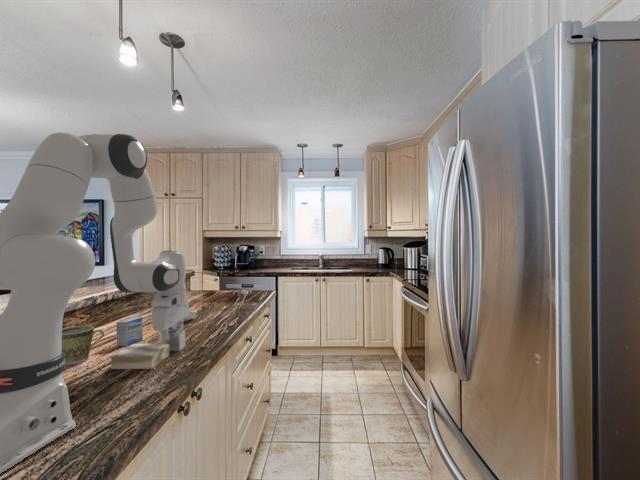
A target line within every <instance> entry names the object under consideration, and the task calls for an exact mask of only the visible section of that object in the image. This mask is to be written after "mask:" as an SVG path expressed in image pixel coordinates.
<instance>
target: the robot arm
mask: <svg viewBox="0 0 640 480" xmlns="http://www.w3.org/2000/svg"><path fill="white" fill-rule="evenodd" d="M147 164H148V155H147V151H146V149H145V147H144V145H143V143H142V142H141V141H140V140H139V139H138V138H137V137H135V136H133V135H130V134H125V133H116V134H105V133H102V134H99V133H98V134H97V133H95V134H93V133H92V134H85V135H80V136H77V135H74V134H70V133H68V132H67V133H66V132H55V133H51V134H49V135H47V136H46V137H45V138H44V140H42V142H41V143H40V144H39V145H38V147H37V148H36V149H35V151H34V153H33V155H32V156H31V158H30V160H29V162H28V164H27V166H26V168H25V170H24V173H23V174H22V176H21V179H20V180H19V183H18V185H17V186H16V189H15V191H14V193H13V195H12V197H11V198H10V200H9V201H8V203H7V204H6V206H5V207H4V208H2V211H0V290H1V291H4V290H5V291H10V297H9V299H8V301H7V302H8V303H7V305H6V307H5V309H4V310H3V312H2V313H1V314H0V474H1V473H2V472H4V471H6V470H7V469H9V468H11V467H12V466H14V465H15V464H17V463H18V462H20V461H21V460H23V459H24V458H26V457H28V456H29V455H30V454H32V453H34V452H35V451H37V450H38V449H40V448H41V447H43V446H45V445H46V444H48V443H50V442H51V441H53V440H54V439H56V438H57V437H59V436H61V435H63V434H65V433H67V432H68V431H70V430H72V429H74V428H75V427H76V428H77V426H76V421H75V420H74V419H73V416H72V413H71V406H70V404H71V403H70V396H69V391H68V386H67V384H66V382H65V379H64V375H63V374H64V373H63V372H64V370H65V368H66V366H65V359H64V352H62V329H63V322H64V320H63V319H64V315H65V310H66V308H67V306H68V303H69V301H70V300H71V297H72V296H73V294H74V293H75V291H77V289H78V288H79V287H80V286H82V285H83V284H84V283H86V282H88V280H89V279H90V277H92V275H93V272H94V270H95V266H96V256H95V253H94V251H93V249H92V247H91V245H89V244H88V242H86V241H85V240H83V239H79V238H75V237H71V236H65V235H60V234H57V233H58V232H59V231H60V230H61V229H63V228H65V227H67V226H68V225H71V223H73V222H74V221H75V220H77V218H78V217H79V215H80V212H81V209H82V206H83V203H84V201H85V197H86V194H87V192H88V190H89V189H88V188H89V186H90V183H91V178H93V179H97V178H98V179H107V181H108V183H109V188H110V194H111V198H112V201H113V208H114V215H113V217H112V218H111V219H110V223H109V235H110V244H111V249H112V250H111V252H112V259H113V283H114V285H115V286H116V288H117V289H118V290H119V291H120V292H121V293H124V294H130V293H156V295H155V296H154V298H152V300H151V302H150V307H151V308H152V310H151V323H152V328H153V330H154V331H156V332H158V331H159V332H160V333H161V334H162V336H163V341H168V340H170V335H169V334H168V331H169V330H170V328H172V326H173V325H174V324H176V323H177V326H176V328H175V330H183V329H182V325H183V326H184V322H185V321H184V318H186V317H188V315H189V311H190V309H189V307H190V306H189V299H188V298H187V287H186V286H187V285H186V281H185V279H186V276H187V274H186V271H187V270H186V268H187V267H186V259H185V256H184V254H183V253H182V252H180V251H176V250H175V251H174V250H163V251H160V252H159V257H157V258H156V259H154V260H152V261H150V262H149V261H147V262H142V261H141V262H140V261H139V260H138V261H137V260H136V258H135V254H134V243H133V236H134V234H135V232H136V231H137V230H138V229H141V228H143V227H145V226H147V225H149V224H150V223H152V222H153V220H154V219H155V217H156V216H157V214H158V203H157V198H156V194H155V190H154V187H153V183H152V180H151V178H150V176H149V173H148V171H147V169H146V167H147ZM76 428H75V429H76ZM75 429H74V430H75ZM72 431H73V430H72ZM67 434H68V433H67ZM28 458H29V457H28ZM20 463H21V462H20ZM17 465H18V464H17ZM15 466H16V465H15ZM15 466H14V467H15ZM12 468H13V467H12ZM12 468H11V469H12ZM9 470H10V469H9ZM7 471H8V470H7ZM7 471H6V472H7ZM4 473H5V472H4ZM2 474H3V473H2ZM2 474H1V475H2Z"/></svg>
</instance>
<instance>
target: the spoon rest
mask: <svg viewBox="0 0 640 480" xmlns="http://www.w3.org/2000/svg"><path fill="white" fill-rule="evenodd" d="M197 312H198V311H197V310H189V315H188V317H186V318H184V322H188V320H189V321H190V320H191V319H193V318H194V317H195V316H196V315H197ZM176 326H177V323H176V324H174V325H173V326H171V330H175V328H176ZM184 327H185V326H184V324H183V325H182V330H184V329H185V328H184Z"/></svg>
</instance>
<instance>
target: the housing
mask: <svg viewBox="0 0 640 480" xmlns="http://www.w3.org/2000/svg"><path fill="white" fill-rule="evenodd" d="M168 334H169V335H170V340H168V341H163V336H162V334H161V332H160V333H159V334H158V335H159V336H158V337H159V338H158V339H159V340H158V344H169V352H180V351H181V350H183V349H185V347H186V329H182V330H172V329H169V331H168Z"/></svg>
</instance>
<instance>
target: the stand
mask: <svg viewBox="0 0 640 480" xmlns="http://www.w3.org/2000/svg"><path fill="white" fill-rule="evenodd" d="M170 352H171V351H169V344H159V343H133V344H131V345H129V346H126V348H124V349H122V350H120V351H118V352H117V353H114V354H113V355H111V357H110V361H111V363H110V365H111V366H110V369H111V370H133V369H135V370H138V369H140V370H142V369H144V370H149V369H150V370H151V369H154V368H155V367H156V366H157V365H158V364H160V363H162V362H163V361H164V360H165V359H166V358H168V357H169V356H170V354H171V353H170Z"/></svg>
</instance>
